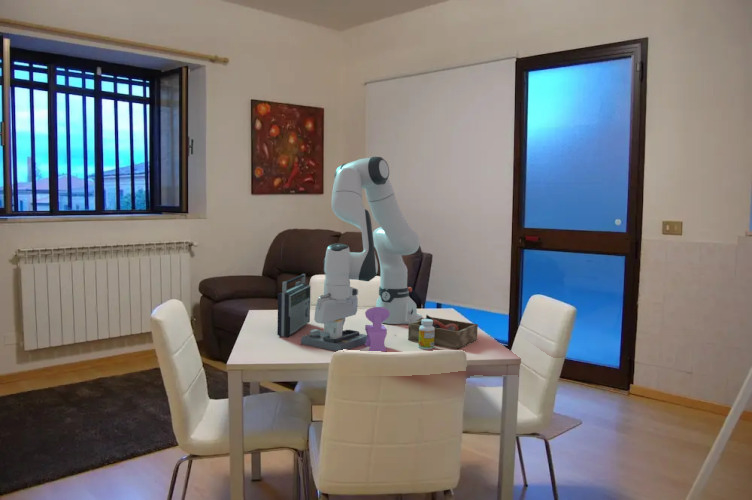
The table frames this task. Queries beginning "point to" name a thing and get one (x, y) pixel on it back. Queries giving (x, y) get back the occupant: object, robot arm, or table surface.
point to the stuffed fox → (442, 326)
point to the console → (325, 342)
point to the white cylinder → (337, 329)
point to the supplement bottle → (426, 334)
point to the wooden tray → (447, 333)
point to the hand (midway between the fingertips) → (335, 331)
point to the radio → (293, 307)
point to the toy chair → (376, 328)
